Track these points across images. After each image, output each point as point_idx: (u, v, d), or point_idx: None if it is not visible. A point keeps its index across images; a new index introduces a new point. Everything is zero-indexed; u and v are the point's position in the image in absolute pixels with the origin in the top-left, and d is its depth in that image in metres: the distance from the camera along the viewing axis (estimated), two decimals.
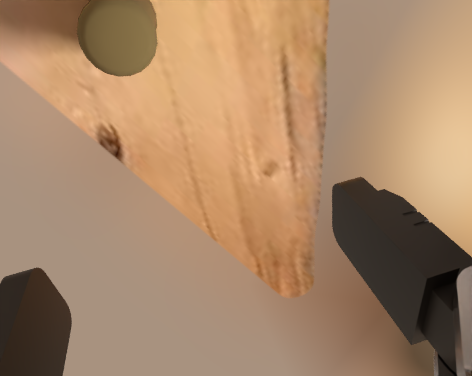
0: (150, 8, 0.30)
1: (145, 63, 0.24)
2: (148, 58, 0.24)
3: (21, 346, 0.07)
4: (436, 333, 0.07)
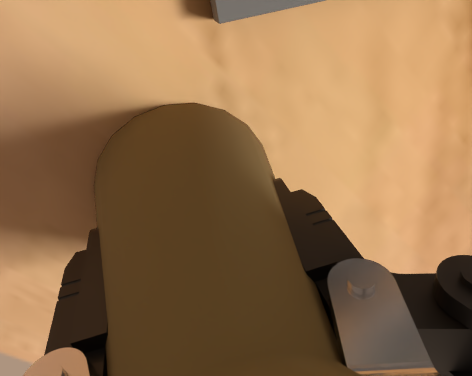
0: None
1: None
2: None
3: None
4: None
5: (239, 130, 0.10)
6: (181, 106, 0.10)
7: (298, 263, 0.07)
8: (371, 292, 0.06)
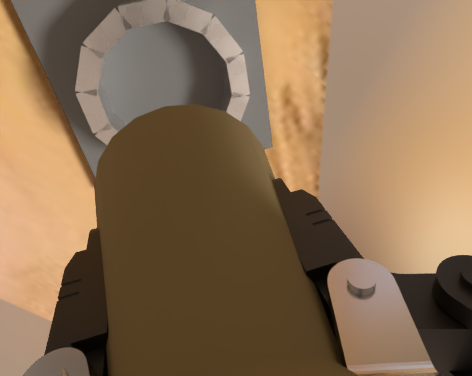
0: None
1: None
2: None
3: None
4: None
5: (239, 131, 0.10)
6: (181, 107, 0.10)
7: (298, 264, 0.07)
8: (371, 292, 0.06)
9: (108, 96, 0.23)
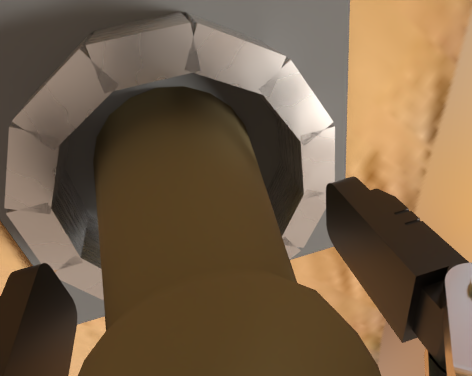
0: (254, 154, 0.12)
1: None
2: None
3: (30, 340, 0.07)
4: (427, 330, 0.07)
5: (222, 110, 0.12)
6: (171, 88, 0.12)
7: (265, 213, 0.08)
8: None
9: (80, 191, 0.13)
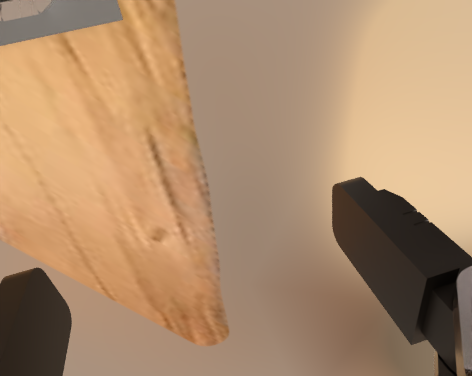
0: None
1: None
2: None
3: (21, 346, 0.07)
4: (437, 333, 0.07)
5: None
6: None
7: None
8: None
9: None
